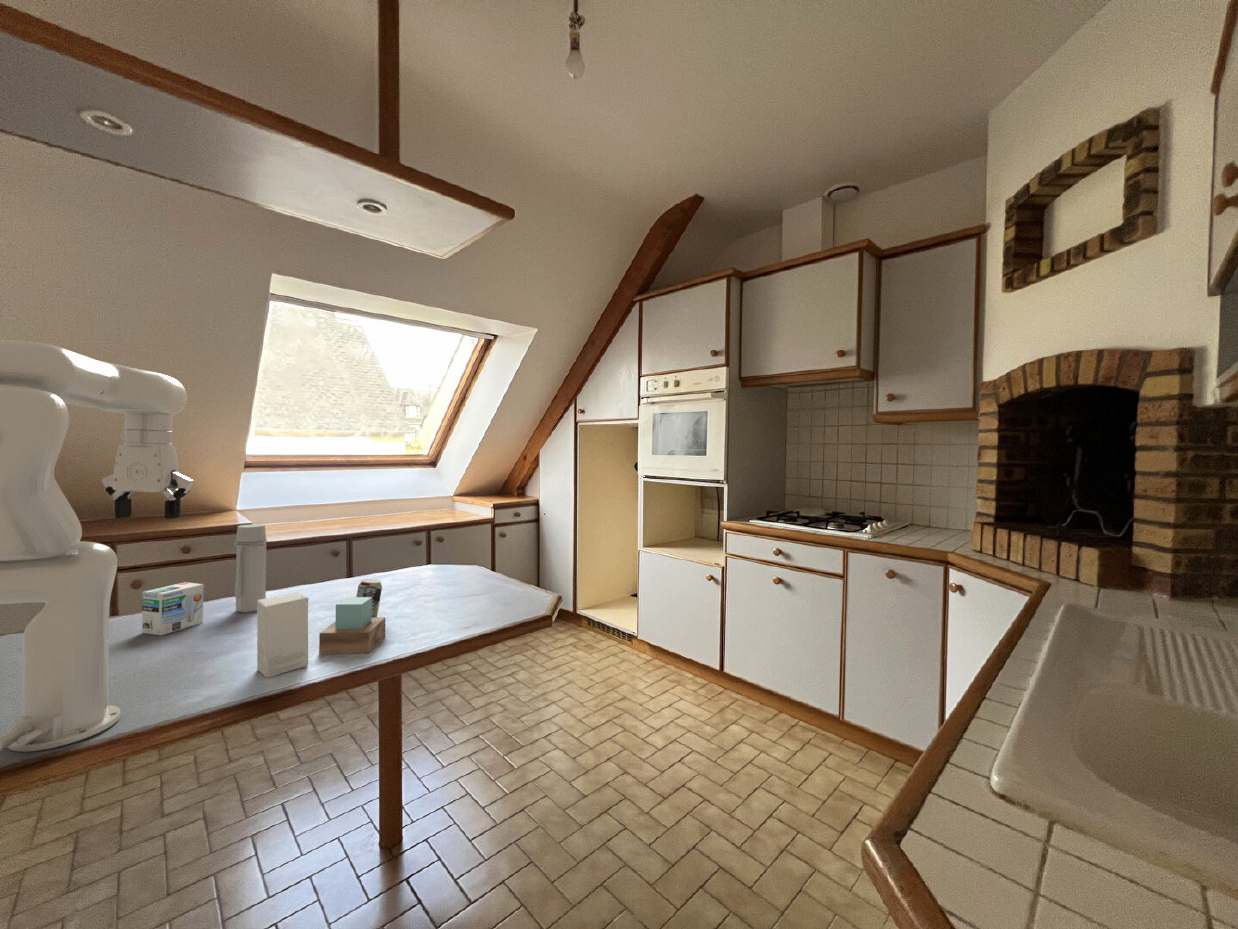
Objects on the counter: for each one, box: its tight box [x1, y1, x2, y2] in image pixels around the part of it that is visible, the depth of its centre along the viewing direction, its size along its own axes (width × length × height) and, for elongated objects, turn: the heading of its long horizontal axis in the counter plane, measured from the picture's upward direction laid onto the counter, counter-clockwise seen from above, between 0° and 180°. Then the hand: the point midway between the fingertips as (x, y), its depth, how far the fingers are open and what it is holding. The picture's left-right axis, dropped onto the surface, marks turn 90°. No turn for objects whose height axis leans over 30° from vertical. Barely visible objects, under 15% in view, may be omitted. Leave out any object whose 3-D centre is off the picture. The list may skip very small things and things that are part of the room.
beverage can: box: [355, 579, 383, 617], centre depth 137 cm, size 6×7×12 cm
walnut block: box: [318, 616, 386, 655], centre depth 121 cm, size 11×11×5 cm
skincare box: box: [256, 591, 309, 679], centre depth 107 cm, size 8×7×16 cm
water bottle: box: [233, 523, 268, 614], centre depth 144 cm, size 9×8×25 cm
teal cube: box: [334, 596, 372, 629], centre depth 121 cm, size 6×6×6 cm
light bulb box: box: [141, 581, 205, 636], centre depth 129 cm, size 11×7×11 cm, turn 168°
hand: (147, 517), depth 107 cm, fingers open, 9 cm apart
